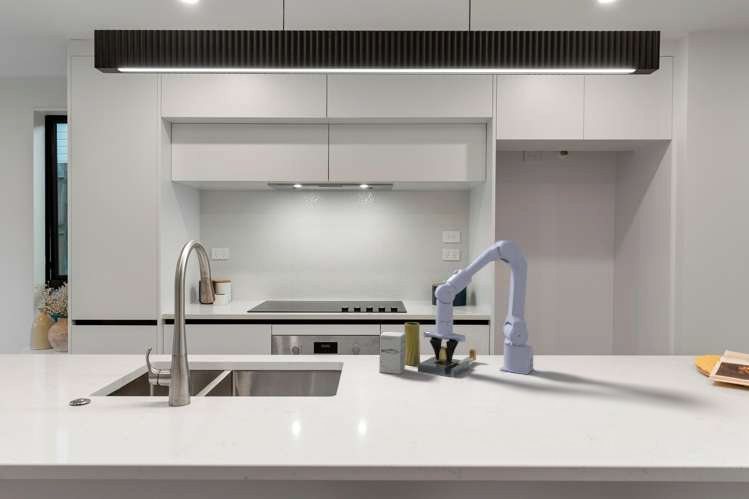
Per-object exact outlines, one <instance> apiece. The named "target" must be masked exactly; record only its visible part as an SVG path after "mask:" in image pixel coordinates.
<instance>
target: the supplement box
mask: <svg viewBox="0 0 749 499" xmlns="http://www.w3.org/2000/svg"><path fill="white" fill-rule="evenodd" d="M405 337H406V333H405V332H402V331H401V332H400V331H384V332H382V333H381V334H380V335H379V360H378V361H379V363H378V364H379V368H378V369H379V370H378V372H379V373H386V374H396V375H401V374H402V373H403V371H405V368H406V365H405Z"/></svg>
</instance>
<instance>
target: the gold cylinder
mask: <svg viewBox="0 0 749 499" xmlns="http://www.w3.org/2000/svg"><path fill="white" fill-rule="evenodd" d="M439 364H442V365H449V362H447V345H445V346H444V345H441V346H440V347H439Z"/></svg>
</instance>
